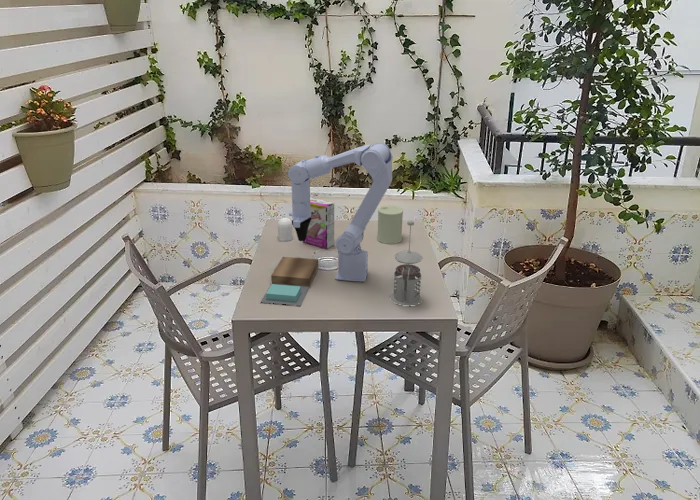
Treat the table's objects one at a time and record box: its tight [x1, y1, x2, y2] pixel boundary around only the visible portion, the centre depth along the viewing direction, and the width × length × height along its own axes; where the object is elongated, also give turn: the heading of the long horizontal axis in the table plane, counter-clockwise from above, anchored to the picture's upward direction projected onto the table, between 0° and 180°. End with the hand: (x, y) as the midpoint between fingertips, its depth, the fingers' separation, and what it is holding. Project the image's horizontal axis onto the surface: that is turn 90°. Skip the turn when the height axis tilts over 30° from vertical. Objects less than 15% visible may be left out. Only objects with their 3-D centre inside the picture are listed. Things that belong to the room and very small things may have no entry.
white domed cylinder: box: [277, 217, 294, 242], centre depth 209 cm, size 5×5×8 cm
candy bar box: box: [302, 196, 335, 249], centre depth 203 cm, size 11×5×16 cm, turn 58°
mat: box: [260, 282, 310, 307], centre depth 171 cm, size 12×12×1 cm
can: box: [376, 205, 404, 245], centre depth 208 cm, size 9×9×12 cm
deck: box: [270, 256, 320, 288], centre depth 182 cm, size 12×14×3 cm
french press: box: [389, 219, 424, 306], centre depth 164 cm, size 10×12×25 cm
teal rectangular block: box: [265, 283, 301, 302], centre depth 170 cm, size 9×6×2 cm, turn 81°
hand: (302, 240), depth 184 cm, fingers closed
